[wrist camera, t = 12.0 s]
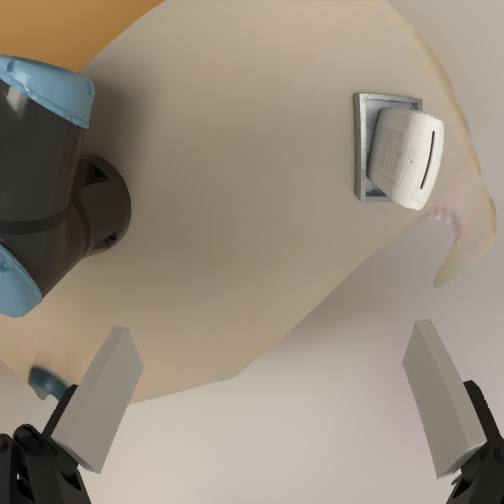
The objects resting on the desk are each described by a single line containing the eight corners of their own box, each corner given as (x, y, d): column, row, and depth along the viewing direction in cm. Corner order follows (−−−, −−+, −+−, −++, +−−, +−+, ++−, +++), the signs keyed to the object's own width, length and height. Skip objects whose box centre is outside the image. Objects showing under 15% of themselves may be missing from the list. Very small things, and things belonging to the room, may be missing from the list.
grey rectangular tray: (354, 194, 38) (360, 201, 35) (353, 94, 32) (359, 93, 29) (410, 194, 37) (418, 201, 34) (412, 99, 31) (422, 99, 29)
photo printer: (391, 187, 36) (432, 221, 25) (362, 180, 36) (395, 212, 25) (407, 113, 32) (458, 120, 21) (377, 103, 32) (421, 104, 21)
